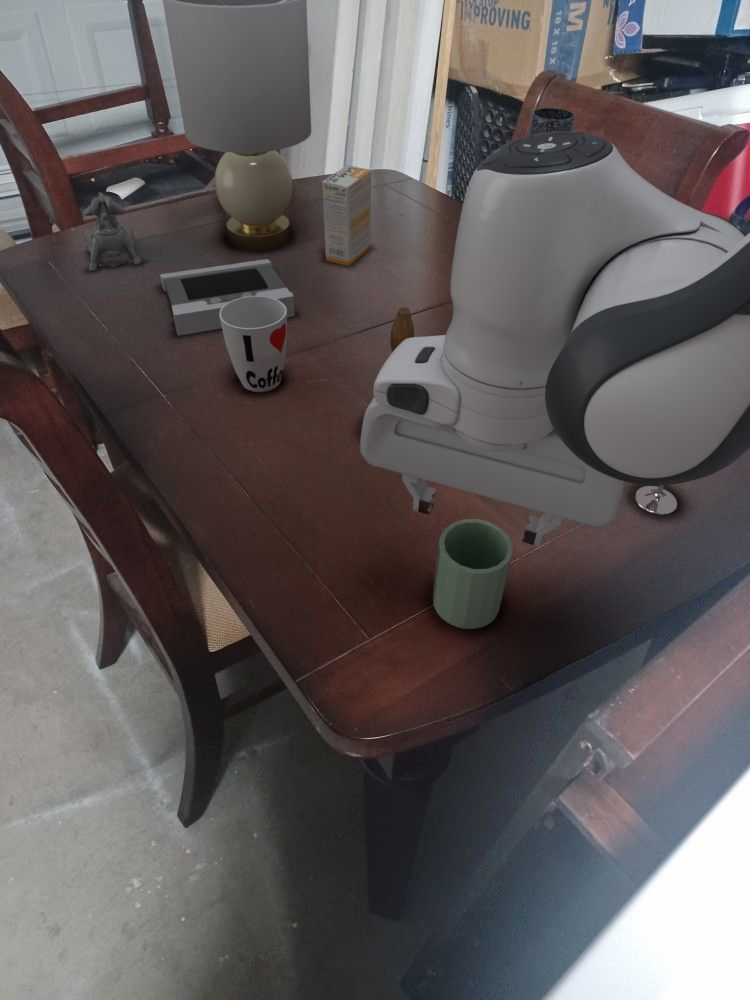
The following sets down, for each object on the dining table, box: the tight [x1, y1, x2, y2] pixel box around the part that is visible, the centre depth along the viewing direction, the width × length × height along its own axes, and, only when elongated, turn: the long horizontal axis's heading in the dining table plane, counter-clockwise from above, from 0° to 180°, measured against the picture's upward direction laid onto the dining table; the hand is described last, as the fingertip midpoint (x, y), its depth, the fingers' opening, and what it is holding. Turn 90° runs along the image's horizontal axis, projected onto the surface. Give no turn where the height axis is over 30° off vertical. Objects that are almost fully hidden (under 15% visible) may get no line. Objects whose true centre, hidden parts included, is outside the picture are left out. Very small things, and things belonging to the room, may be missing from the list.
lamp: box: [162, 0, 312, 252], centre depth 110 cm, size 20×20×35 cm
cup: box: [219, 296, 288, 393], centre depth 88 cm, size 8×8×10 cm
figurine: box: [82, 191, 143, 272], centre depth 113 cm, size 8×10×11 cm
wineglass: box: [634, 485, 678, 516], centre depth 72 cm, size 6×6×12 cm
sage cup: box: [432, 518, 514, 630], centre depth 63 cm, size 6×6×8 cm
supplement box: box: [321, 164, 372, 267], centre depth 114 cm, size 8×5×13 cm, turn 153°
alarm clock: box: [159, 258, 296, 337], centre depth 105 cm, size 17×5×16 cm
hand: (477, 523), depth 58 cm, fingers open, 8 cm apart
